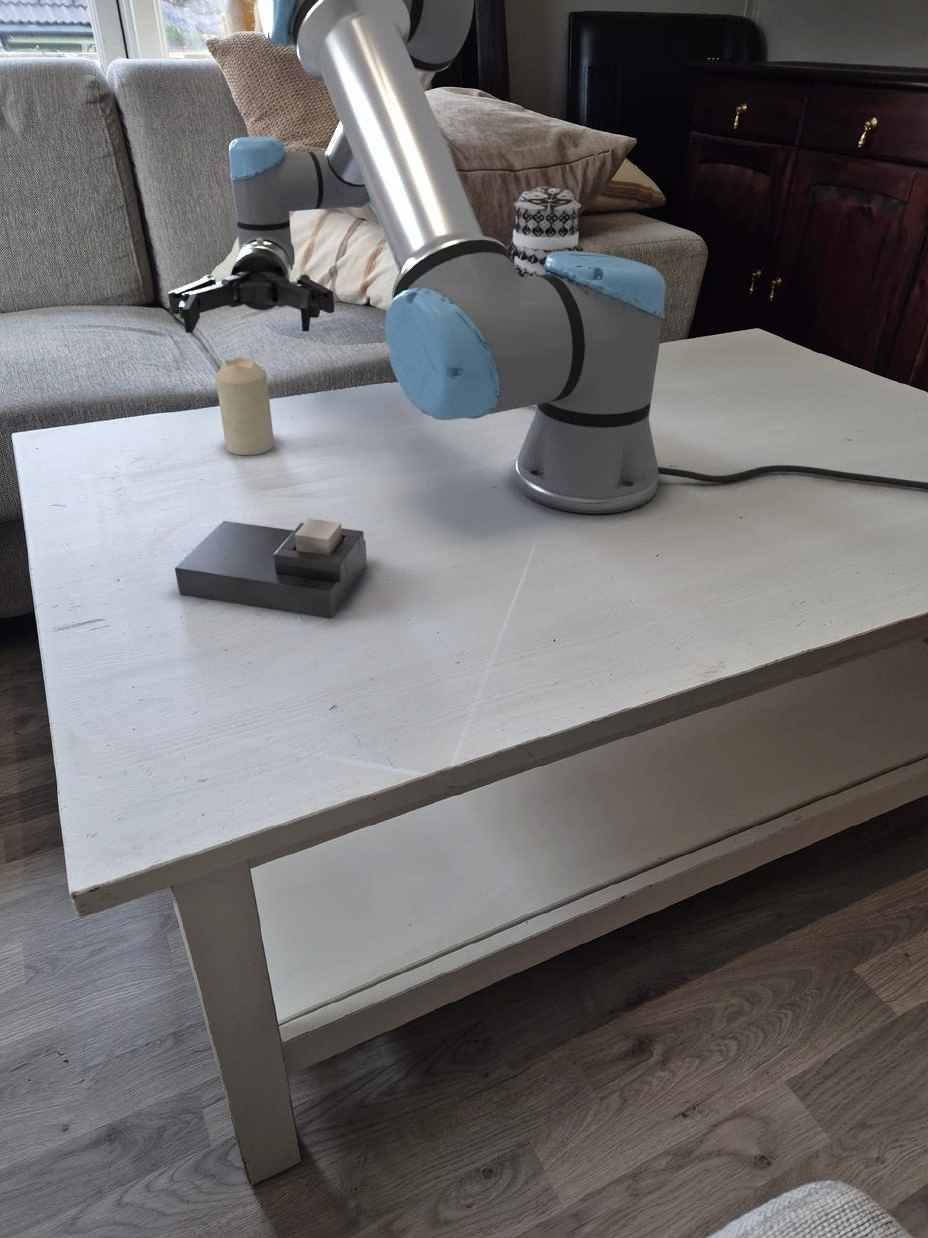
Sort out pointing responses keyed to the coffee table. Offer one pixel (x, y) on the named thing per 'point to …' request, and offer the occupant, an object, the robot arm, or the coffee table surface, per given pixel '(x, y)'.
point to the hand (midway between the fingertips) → (246, 320)
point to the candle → (245, 407)
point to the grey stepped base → (271, 569)
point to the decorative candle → (543, 228)
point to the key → (319, 537)
